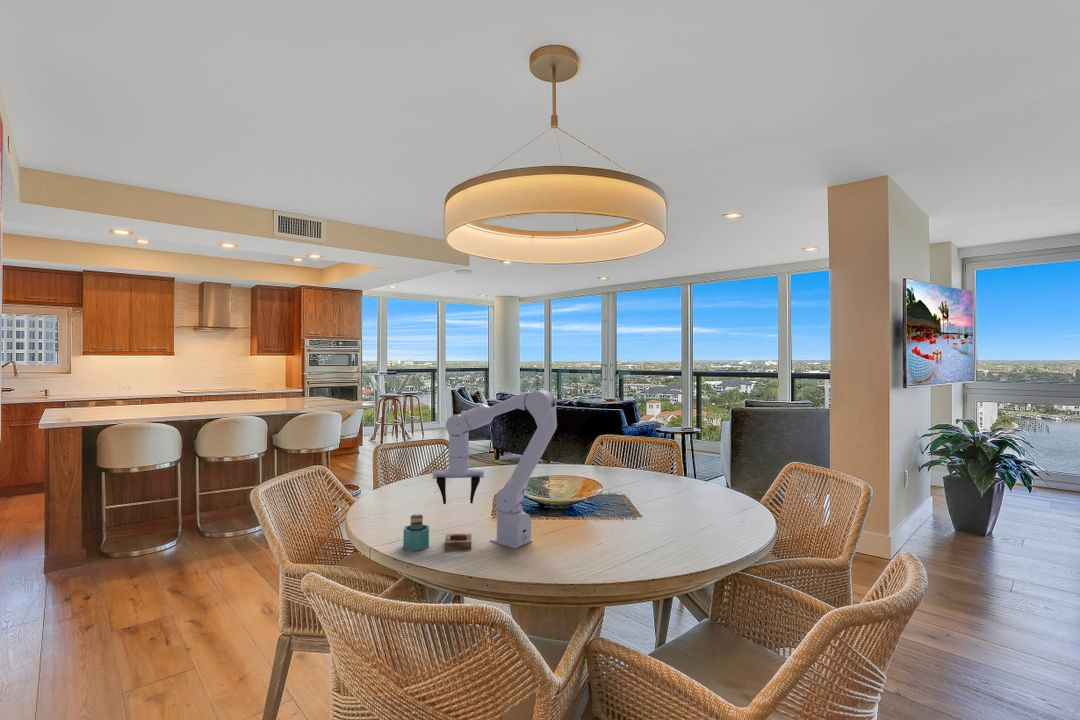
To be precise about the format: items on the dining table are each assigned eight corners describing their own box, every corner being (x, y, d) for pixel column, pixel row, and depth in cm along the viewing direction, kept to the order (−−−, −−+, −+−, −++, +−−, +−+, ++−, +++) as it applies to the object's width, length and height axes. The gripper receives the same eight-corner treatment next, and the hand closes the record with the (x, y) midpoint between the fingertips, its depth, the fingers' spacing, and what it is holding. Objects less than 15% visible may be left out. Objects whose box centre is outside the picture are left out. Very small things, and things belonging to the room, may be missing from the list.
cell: (424, 543, 146) (425, 514, 146) (415, 547, 143) (415, 517, 143) (417, 541, 148) (417, 512, 148) (407, 544, 145) (408, 514, 145)
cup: (433, 545, 146) (434, 527, 146) (414, 552, 141) (414, 533, 141) (418, 540, 150) (418, 522, 150) (398, 546, 145) (399, 528, 145)
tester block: (471, 540, 151) (471, 532, 151) (471, 549, 144) (471, 541, 144) (446, 541, 150) (446, 533, 150) (444, 549, 143) (445, 541, 143)
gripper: (483, 453, 160) (482, 498, 160) (433, 453, 158) (433, 499, 158) (484, 457, 153) (483, 504, 153) (432, 458, 151) (431, 506, 151)
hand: (458, 502), depth 155 cm, fingers open, 7 cm apart
